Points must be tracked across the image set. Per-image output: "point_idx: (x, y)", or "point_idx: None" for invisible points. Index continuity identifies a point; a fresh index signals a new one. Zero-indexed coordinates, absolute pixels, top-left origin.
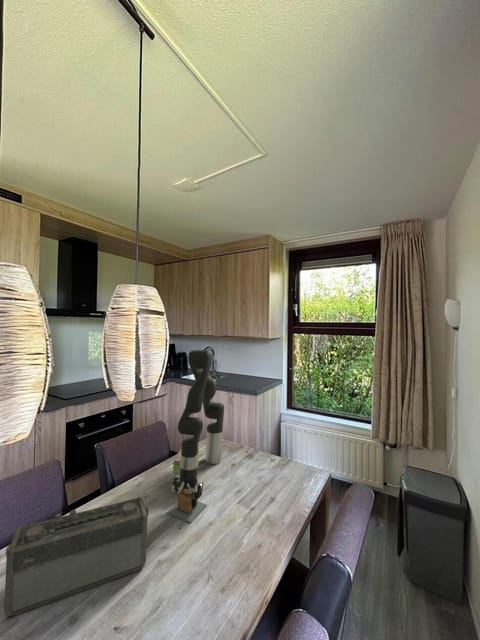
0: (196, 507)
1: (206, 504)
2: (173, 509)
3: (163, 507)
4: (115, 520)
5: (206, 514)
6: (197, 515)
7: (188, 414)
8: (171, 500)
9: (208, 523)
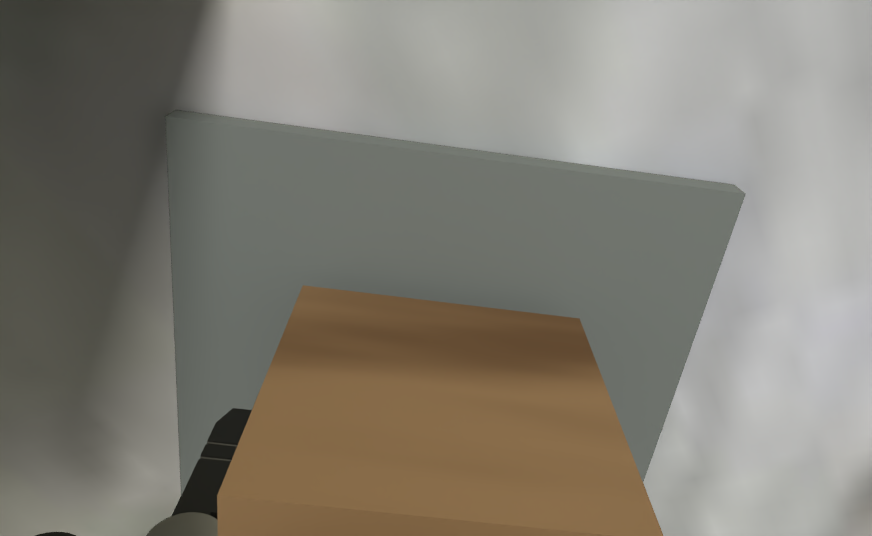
0: None
1: (736, 194)
2: None
3: (46, 448)
4: None
5: (776, 371)
6: (646, 450)
7: None
8: (17, 269)
9: (844, 505)
